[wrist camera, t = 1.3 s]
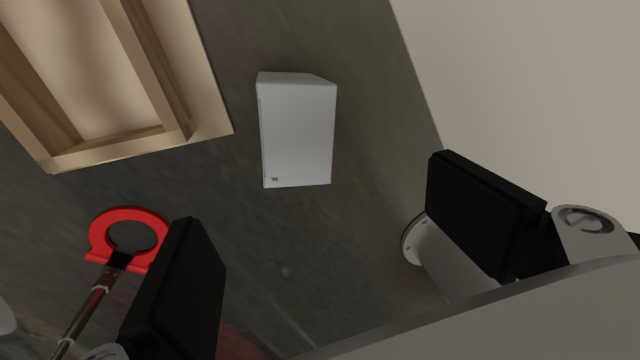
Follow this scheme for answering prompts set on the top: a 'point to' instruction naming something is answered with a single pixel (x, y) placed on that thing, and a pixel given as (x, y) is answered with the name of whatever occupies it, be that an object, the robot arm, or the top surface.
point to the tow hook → (111, 264)
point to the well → (105, 80)
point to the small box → (296, 128)
